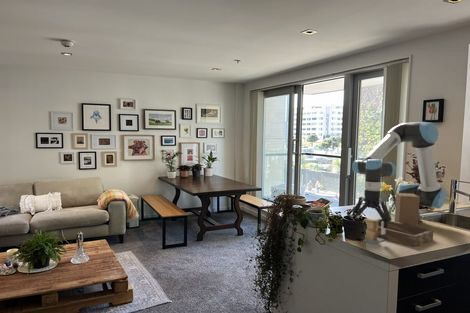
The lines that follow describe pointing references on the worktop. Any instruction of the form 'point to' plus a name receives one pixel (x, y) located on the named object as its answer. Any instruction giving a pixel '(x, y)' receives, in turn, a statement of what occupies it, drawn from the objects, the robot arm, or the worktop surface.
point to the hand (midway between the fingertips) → (370, 230)
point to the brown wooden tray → (405, 233)
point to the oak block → (371, 229)
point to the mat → (374, 240)
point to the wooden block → (407, 209)
